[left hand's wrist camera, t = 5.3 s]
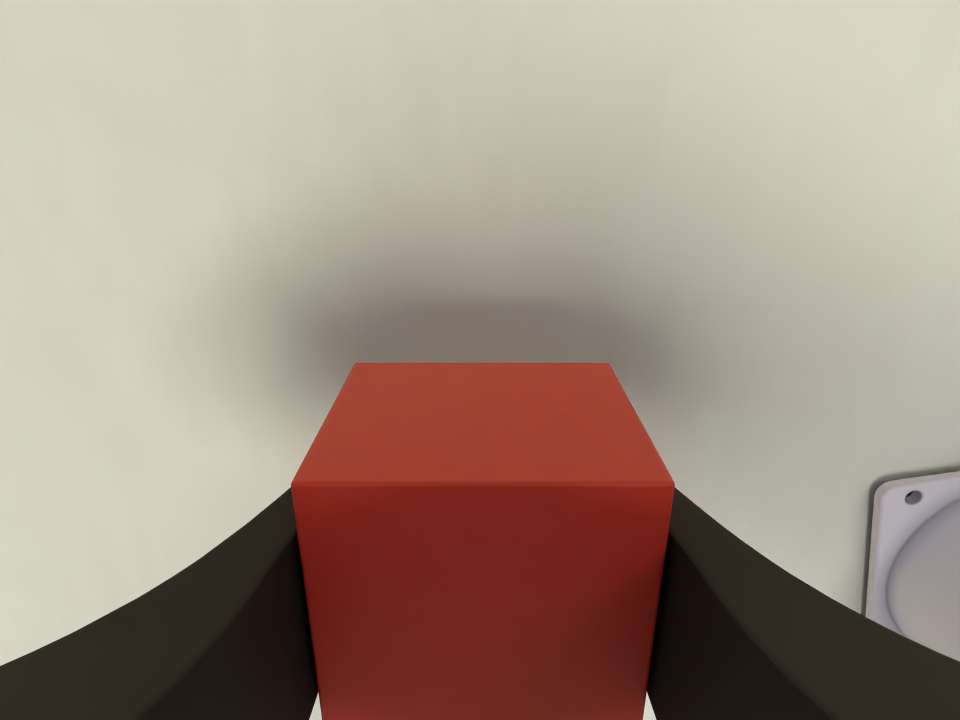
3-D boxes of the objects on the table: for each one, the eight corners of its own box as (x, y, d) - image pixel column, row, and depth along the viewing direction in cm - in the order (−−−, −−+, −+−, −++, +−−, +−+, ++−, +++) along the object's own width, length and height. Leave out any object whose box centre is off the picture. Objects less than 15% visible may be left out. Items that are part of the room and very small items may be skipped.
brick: (353, 362, 12) (288, 483, 8) (609, 361, 12) (677, 483, 8) (371, 567, 14) (324, 753, 9) (592, 567, 14) (639, 753, 9)
